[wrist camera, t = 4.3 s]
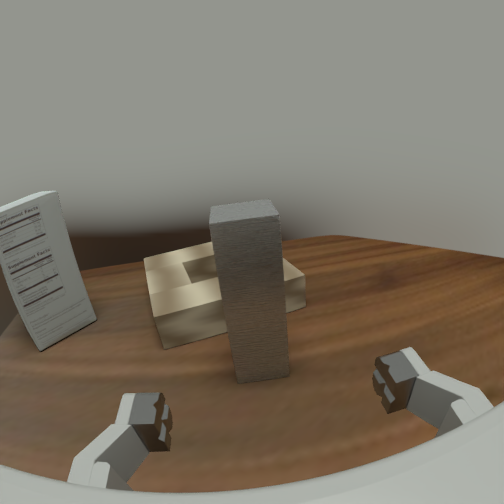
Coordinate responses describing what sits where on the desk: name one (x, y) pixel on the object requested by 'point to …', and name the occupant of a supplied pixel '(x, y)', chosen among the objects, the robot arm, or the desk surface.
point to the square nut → (198, 294)
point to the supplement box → (42, 269)
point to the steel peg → (252, 287)
